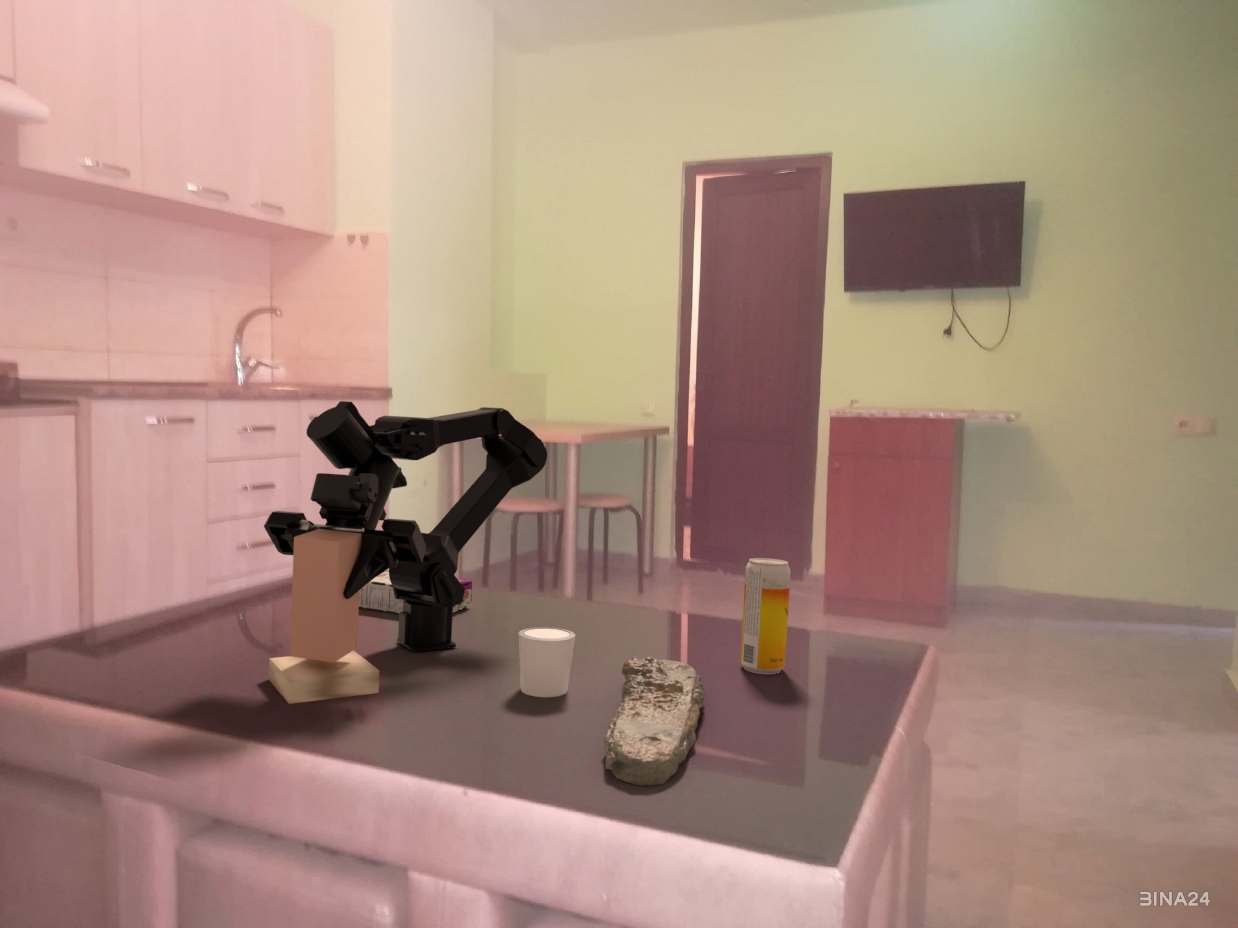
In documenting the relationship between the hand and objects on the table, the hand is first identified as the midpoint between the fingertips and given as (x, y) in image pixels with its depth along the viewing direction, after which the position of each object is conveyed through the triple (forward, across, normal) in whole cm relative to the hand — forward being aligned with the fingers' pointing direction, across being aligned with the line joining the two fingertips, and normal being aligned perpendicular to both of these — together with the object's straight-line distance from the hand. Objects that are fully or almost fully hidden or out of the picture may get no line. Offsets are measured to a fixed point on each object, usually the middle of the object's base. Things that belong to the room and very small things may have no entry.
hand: (321, 594), depth 102 cm
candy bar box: (-24, +2, +37) cm, 44 cm away
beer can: (-10, +52, +27) cm, 59 cm away
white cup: (+2, +25, +14) cm, 29 cm away
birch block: (+7, 0, +9) cm, 12 cm away
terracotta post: (+4, 0, +6) cm, 7 cm away
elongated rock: (+8, +39, +8) cm, 41 cm away
